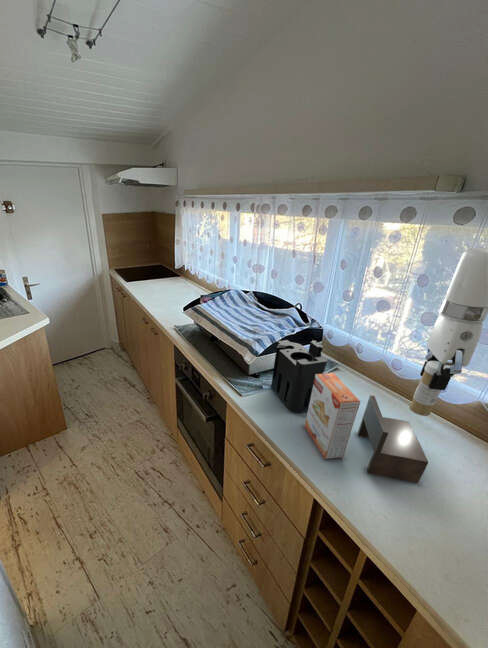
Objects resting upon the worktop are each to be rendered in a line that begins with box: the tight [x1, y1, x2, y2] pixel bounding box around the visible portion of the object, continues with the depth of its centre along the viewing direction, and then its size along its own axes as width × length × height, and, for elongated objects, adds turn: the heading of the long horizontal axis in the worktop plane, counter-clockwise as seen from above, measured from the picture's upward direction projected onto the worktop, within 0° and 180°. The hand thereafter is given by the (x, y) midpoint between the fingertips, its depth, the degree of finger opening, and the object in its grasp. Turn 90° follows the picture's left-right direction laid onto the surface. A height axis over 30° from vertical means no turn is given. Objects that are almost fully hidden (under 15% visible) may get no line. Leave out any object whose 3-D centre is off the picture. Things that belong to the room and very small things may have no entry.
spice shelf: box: [357, 395, 429, 484], centre depth 85 cm, size 12×16×15 cm
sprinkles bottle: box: [408, 361, 450, 417], centre depth 73 cm, size 5×5×14 cm
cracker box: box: [304, 372, 361, 460], centre depth 89 cm, size 14×6×21 cm, turn 5°
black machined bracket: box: [270, 339, 329, 413], centre depth 110 cm, size 12×21×22 cm, turn 13°
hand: (432, 381), depth 72 cm, fingers closed on sprinkles bottle, 4 cm apart
